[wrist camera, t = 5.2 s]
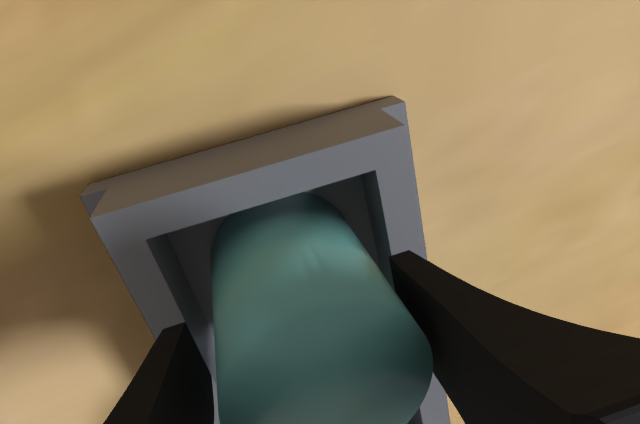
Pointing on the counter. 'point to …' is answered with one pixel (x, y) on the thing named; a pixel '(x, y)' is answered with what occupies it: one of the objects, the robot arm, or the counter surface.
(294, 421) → the teal cylinder
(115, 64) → the counter surface
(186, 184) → the housing
